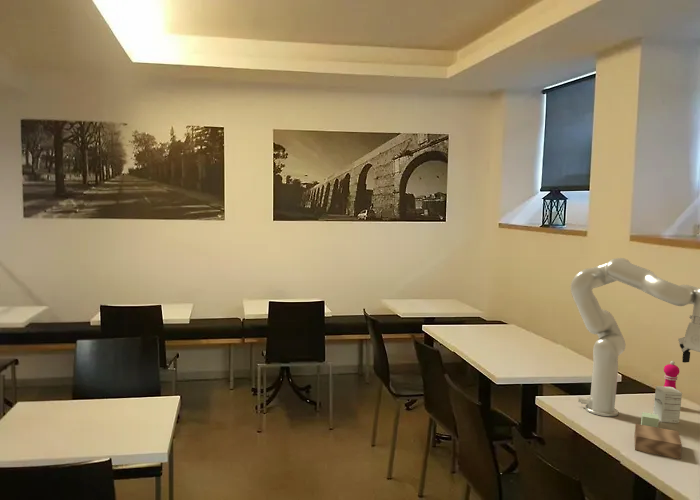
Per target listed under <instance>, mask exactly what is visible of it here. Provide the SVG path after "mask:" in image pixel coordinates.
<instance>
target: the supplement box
mask: <svg viewBox="0 0 700 500" xmlns="http://www.w3.org/2000/svg"><path fill="white" fill-rule="evenodd" d="M663 386H664V385H663ZM663 386H661V385H660V386H659V385H656V386H655V393H654V400H653V401H654V402H653V411H652V414H656V415H658V417H659V421H660V422H662V423H673V424H674V423H675V424H679V422H680V415H681V407H682V398H683V392H681V391H680V390H679V389H677V388H676V389H675V388H673V387H663Z"/></svg>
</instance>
